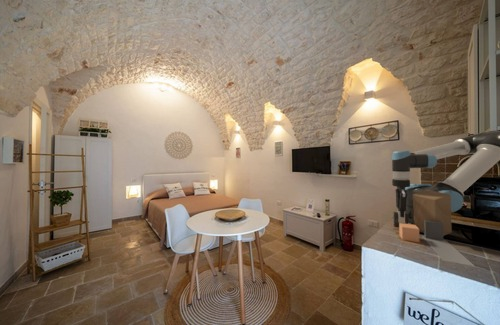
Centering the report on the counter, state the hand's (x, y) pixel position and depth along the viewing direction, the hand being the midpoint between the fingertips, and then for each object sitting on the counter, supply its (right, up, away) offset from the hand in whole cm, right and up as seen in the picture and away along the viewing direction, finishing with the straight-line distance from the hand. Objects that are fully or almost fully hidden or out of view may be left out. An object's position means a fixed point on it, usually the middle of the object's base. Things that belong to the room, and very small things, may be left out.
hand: (401, 221), depth 101 cm
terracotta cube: (-8, -3, -14) cm, 16 cm away
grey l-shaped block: (-2, -4, -24) cm, 25 cm away
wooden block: (+10, -3, -7) cm, 13 cm away
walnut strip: (-5, -4, -10) cm, 12 cm away
